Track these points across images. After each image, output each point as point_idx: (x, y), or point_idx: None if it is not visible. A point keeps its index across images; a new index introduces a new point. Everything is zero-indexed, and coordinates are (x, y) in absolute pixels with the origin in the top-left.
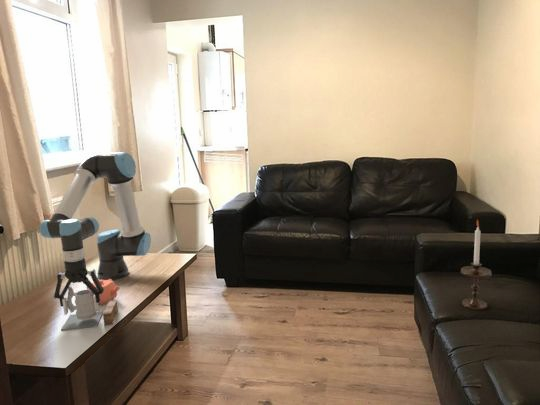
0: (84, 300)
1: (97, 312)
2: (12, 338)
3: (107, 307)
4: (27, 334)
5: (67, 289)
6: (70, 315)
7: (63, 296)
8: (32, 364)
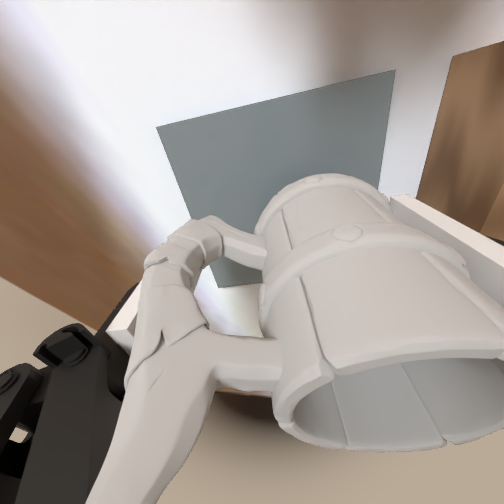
0: (377, 382)
1: (349, 95)
2: (80, 314)
3: (497, 223)
4: (106, 297)
5: (93, 476)
6: (164, 140)
7: (112, 362)
8: (246, 392)
